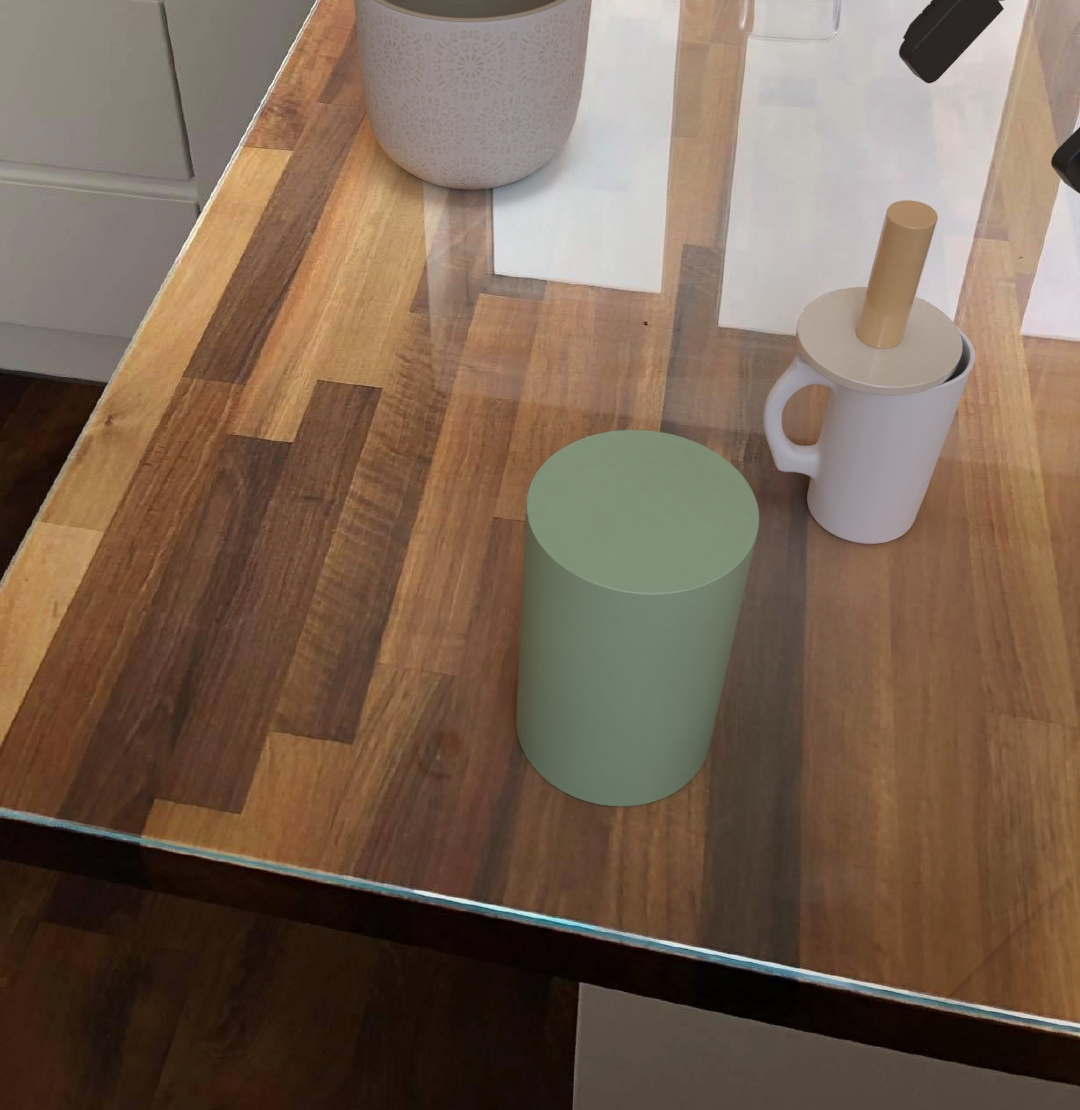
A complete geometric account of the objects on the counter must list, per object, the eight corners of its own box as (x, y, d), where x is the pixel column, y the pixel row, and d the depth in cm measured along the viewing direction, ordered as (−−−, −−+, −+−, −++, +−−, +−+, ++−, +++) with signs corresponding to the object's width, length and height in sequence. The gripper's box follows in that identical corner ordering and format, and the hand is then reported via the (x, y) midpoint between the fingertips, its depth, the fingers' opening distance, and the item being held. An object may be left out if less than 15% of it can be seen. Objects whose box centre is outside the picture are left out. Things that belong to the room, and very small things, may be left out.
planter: (551, 88, 116) (561, -99, 105) (606, 202, 104) (623, 5, 93) (349, 112, 114) (336, -75, 103) (381, 230, 103) (371, 33, 92)
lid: (993, 348, 73) (1039, 217, 67) (891, 418, 70) (930, 287, 64) (864, 276, 78) (896, 148, 72) (762, 338, 74) (787, 209, 68)
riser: (751, 733, 72) (808, 515, 60) (611, 843, 67) (643, 632, 56) (613, 619, 77) (640, 399, 65) (476, 714, 73) (478, 497, 61)
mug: (913, 471, 84) (966, 311, 75) (926, 553, 80) (983, 392, 71) (743, 459, 85) (775, 300, 76) (746, 539, 81) (781, 379, 72)
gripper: (1174, -414, 47) (823, -14, 53) (1559, -299, 38) (1087, 169, 44) (1232, -264, 52) (907, 86, 58) (1584, -132, 43) (1158, 269, 49)
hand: (985, 121), depth 51 cm, fingers open, 8 cm apart
